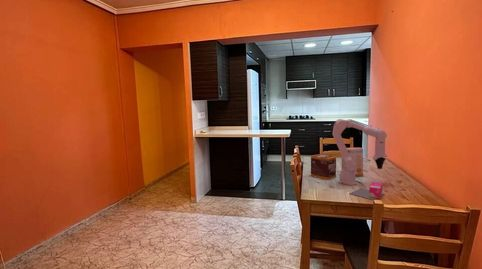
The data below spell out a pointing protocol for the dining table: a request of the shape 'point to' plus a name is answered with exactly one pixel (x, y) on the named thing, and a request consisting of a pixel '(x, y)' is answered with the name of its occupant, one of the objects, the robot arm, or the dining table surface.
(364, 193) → the mat
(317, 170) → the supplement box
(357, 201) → the dining table surface
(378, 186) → the supplement box
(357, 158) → the cracker box
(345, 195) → the dining table surface
